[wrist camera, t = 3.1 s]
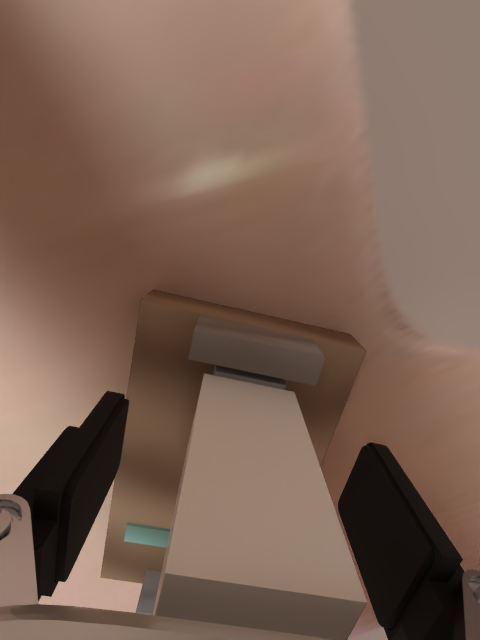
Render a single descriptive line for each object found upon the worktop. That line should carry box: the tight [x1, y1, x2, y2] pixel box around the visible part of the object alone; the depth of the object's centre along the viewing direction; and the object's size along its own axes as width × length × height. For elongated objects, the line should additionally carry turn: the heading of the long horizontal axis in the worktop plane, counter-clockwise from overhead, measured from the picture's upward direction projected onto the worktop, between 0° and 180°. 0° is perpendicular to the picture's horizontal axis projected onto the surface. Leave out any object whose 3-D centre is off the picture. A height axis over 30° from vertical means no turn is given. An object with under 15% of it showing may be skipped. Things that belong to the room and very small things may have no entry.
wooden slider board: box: [100, 290, 366, 615], centre depth 16 cm, size 17×10×4 cm, turn 166°
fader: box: [153, 365, 367, 640], centre depth 10 cm, size 4×4×9 cm
